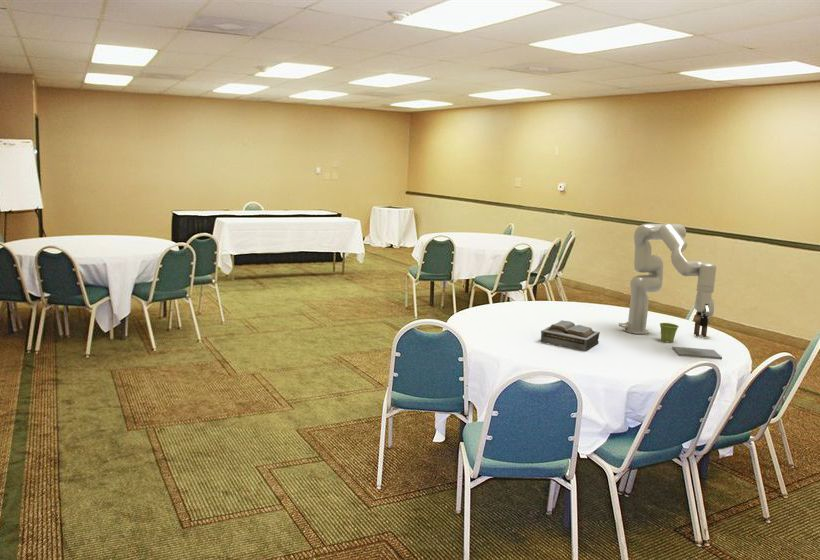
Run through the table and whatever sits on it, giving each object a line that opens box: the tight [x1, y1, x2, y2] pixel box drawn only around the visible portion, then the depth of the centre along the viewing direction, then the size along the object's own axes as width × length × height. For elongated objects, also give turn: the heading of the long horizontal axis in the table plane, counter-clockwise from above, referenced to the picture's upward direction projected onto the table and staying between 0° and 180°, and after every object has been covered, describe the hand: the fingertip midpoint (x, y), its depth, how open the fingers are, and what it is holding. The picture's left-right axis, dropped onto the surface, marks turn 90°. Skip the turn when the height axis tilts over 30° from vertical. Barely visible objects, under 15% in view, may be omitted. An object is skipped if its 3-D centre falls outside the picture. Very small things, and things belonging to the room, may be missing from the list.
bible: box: [540, 320, 601, 352], centre depth 331 cm, size 23×27×10 cm
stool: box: [693, 314, 711, 338], centre depth 321 cm, size 7×7×10 cm
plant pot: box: [659, 322, 680, 343], centre depth 345 cm, size 9×9×9 cm
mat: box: [671, 345, 723, 360], centre depth 324 cm, size 20×13×1 cm, turn 82°
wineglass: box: [695, 298, 715, 340], centre depth 355 cm, size 8×8×21 cm
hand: (701, 324), depth 320 cm, fingers closed on stool, 7 cm apart
